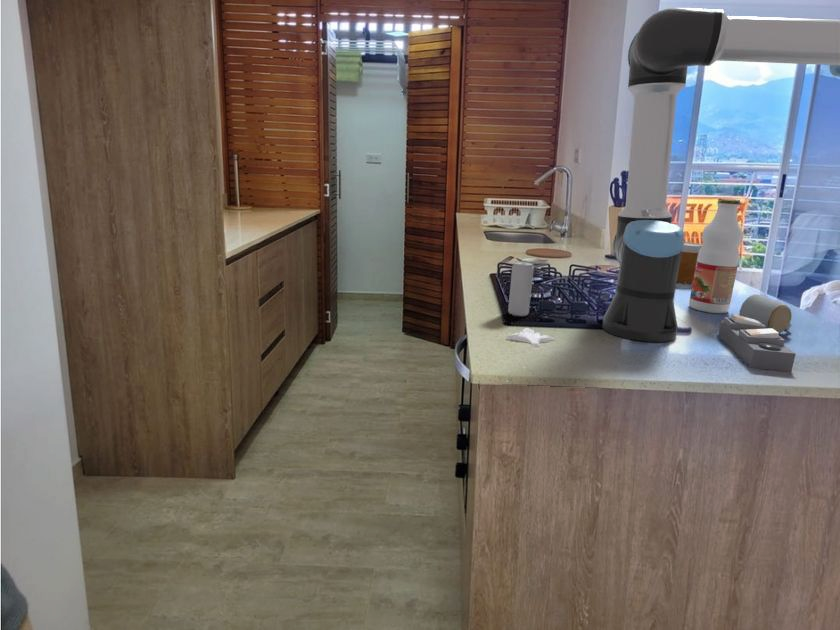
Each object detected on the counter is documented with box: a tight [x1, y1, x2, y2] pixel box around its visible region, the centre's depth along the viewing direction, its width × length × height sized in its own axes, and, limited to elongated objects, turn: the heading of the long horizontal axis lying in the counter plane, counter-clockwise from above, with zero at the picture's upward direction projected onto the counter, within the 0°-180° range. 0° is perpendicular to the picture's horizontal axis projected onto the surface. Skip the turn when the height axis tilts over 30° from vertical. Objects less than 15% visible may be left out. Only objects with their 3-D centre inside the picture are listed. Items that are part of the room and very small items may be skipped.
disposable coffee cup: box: [677, 241, 703, 284], centre depth 183 cm, size 10×10×12 cm
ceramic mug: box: [738, 293, 792, 334], centre depth 132 cm, size 11×8×8 cm
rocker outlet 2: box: [745, 328, 780, 338], centre depth 112 cm, size 5×3×1 cm
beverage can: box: [507, 260, 535, 317], centre depth 134 cm, size 5×5×12 cm
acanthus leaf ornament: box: [506, 327, 555, 347], centre depth 117 cm, size 8×7×2 cm
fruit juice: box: [688, 197, 744, 314], centre depth 146 cm, size 9×9×28 cm
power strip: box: [717, 316, 796, 373], centre depth 115 cm, size 7×20×5 cm, turn 169°
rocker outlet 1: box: [729, 313, 761, 325], centre depth 121 cm, size 5×3×1 cm
